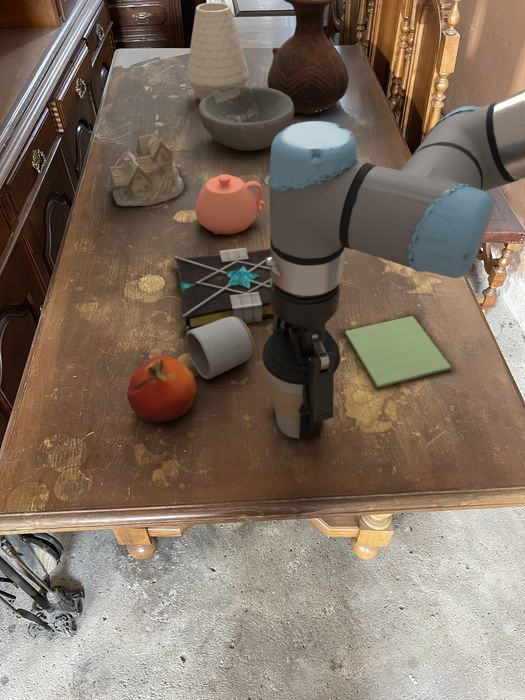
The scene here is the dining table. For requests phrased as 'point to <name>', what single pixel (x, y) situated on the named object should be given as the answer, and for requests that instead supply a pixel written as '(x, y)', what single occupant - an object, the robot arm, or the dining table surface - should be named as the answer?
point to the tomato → (161, 389)
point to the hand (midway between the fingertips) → (298, 410)
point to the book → (225, 287)
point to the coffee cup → (289, 378)
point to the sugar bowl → (228, 204)
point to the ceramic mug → (219, 346)
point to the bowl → (246, 116)
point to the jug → (309, 62)
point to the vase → (215, 51)
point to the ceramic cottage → (147, 172)
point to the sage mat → (396, 351)
